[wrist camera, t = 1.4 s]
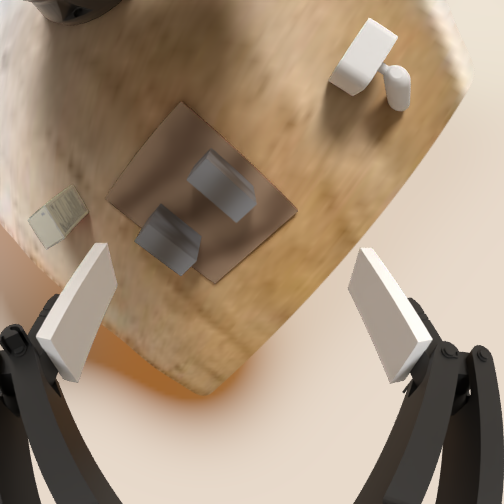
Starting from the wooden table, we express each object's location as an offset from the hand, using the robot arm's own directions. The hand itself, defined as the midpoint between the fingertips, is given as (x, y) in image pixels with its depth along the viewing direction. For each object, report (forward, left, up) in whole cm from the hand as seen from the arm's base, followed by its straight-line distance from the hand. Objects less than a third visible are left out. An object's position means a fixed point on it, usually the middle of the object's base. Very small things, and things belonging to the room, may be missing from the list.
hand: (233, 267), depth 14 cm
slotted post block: (0, -7, -23) cm, 24 cm away
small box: (-14, -20, -23) cm, 33 cm away
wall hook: (+3, +20, -23) cm, 31 cm away
